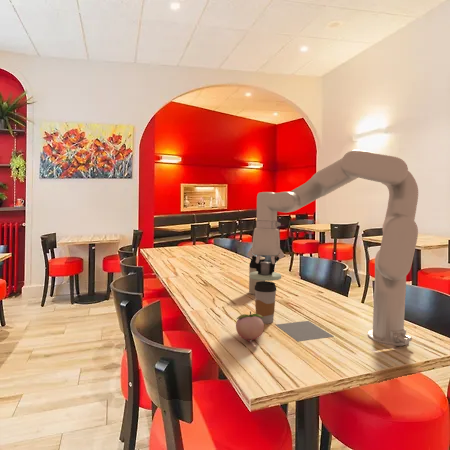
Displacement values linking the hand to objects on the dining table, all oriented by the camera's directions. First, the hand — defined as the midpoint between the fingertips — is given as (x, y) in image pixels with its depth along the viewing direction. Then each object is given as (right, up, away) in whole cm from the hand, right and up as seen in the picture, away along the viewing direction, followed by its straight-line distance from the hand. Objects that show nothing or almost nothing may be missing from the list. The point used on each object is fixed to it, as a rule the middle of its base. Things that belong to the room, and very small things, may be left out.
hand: (265, 273), depth 133 cm
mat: (+13, -20, -8) cm, 25 cm away
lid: (0, -1, 0) cm, 1 cm away
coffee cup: (0, -19, +1) cm, 19 cm away
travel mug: (+1, -16, +43) cm, 46 cm away
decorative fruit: (-7, -20, -17) cm, 27 cm away
